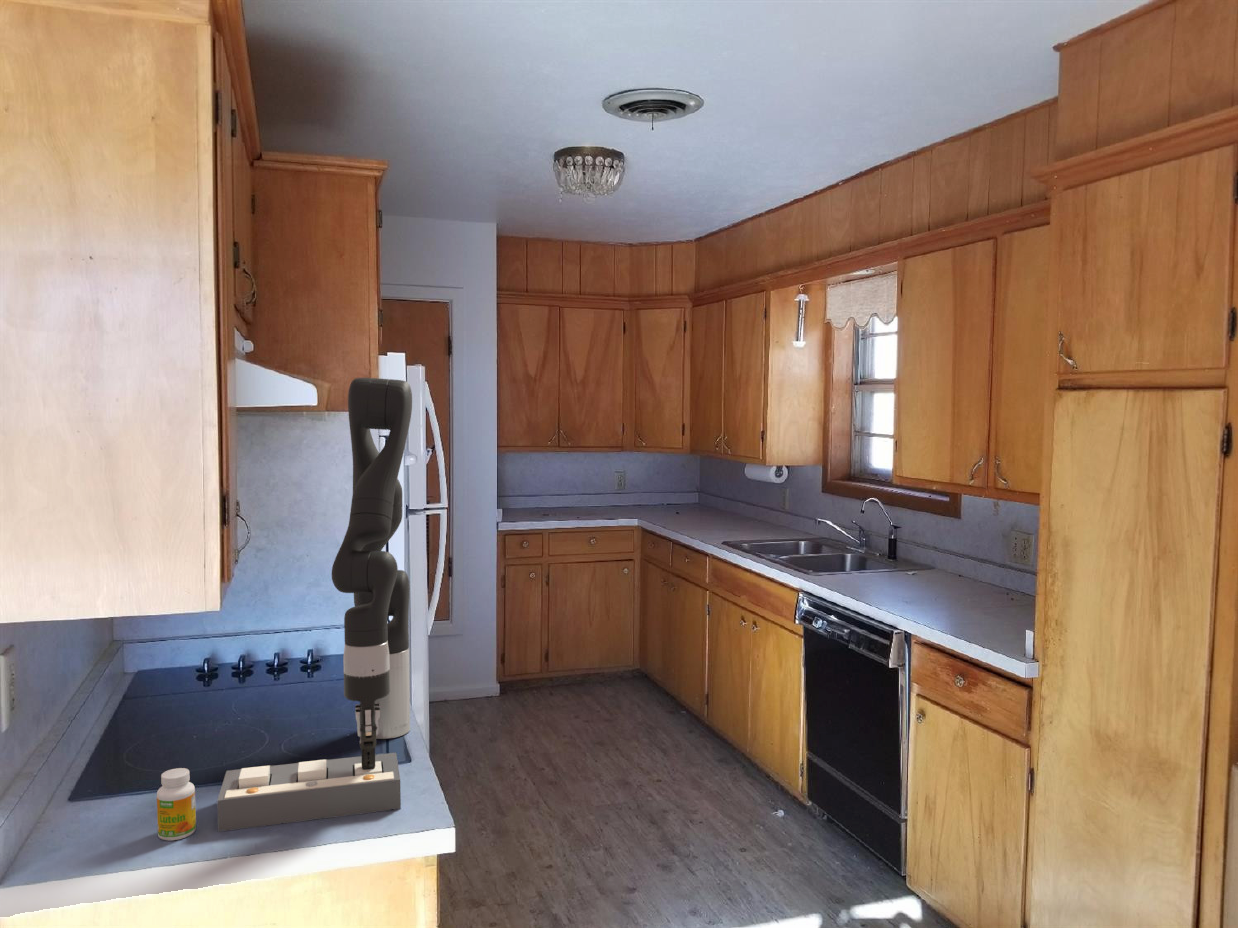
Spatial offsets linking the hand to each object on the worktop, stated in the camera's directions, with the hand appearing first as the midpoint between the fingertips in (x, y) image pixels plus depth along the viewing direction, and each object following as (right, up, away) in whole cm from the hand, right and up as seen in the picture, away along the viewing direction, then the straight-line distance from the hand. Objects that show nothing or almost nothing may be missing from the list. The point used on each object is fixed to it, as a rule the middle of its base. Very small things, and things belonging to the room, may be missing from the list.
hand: (368, 767), depth 155 cm
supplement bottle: (-27, -6, -13) cm, 30 cm away
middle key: (-9, -2, -2) cm, 9 cm away
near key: (-17, -2, -5) cm, 18 cm away
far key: (0, -3, 0) cm, 3 cm away
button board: (-9, -5, -2) cm, 10 cm away
